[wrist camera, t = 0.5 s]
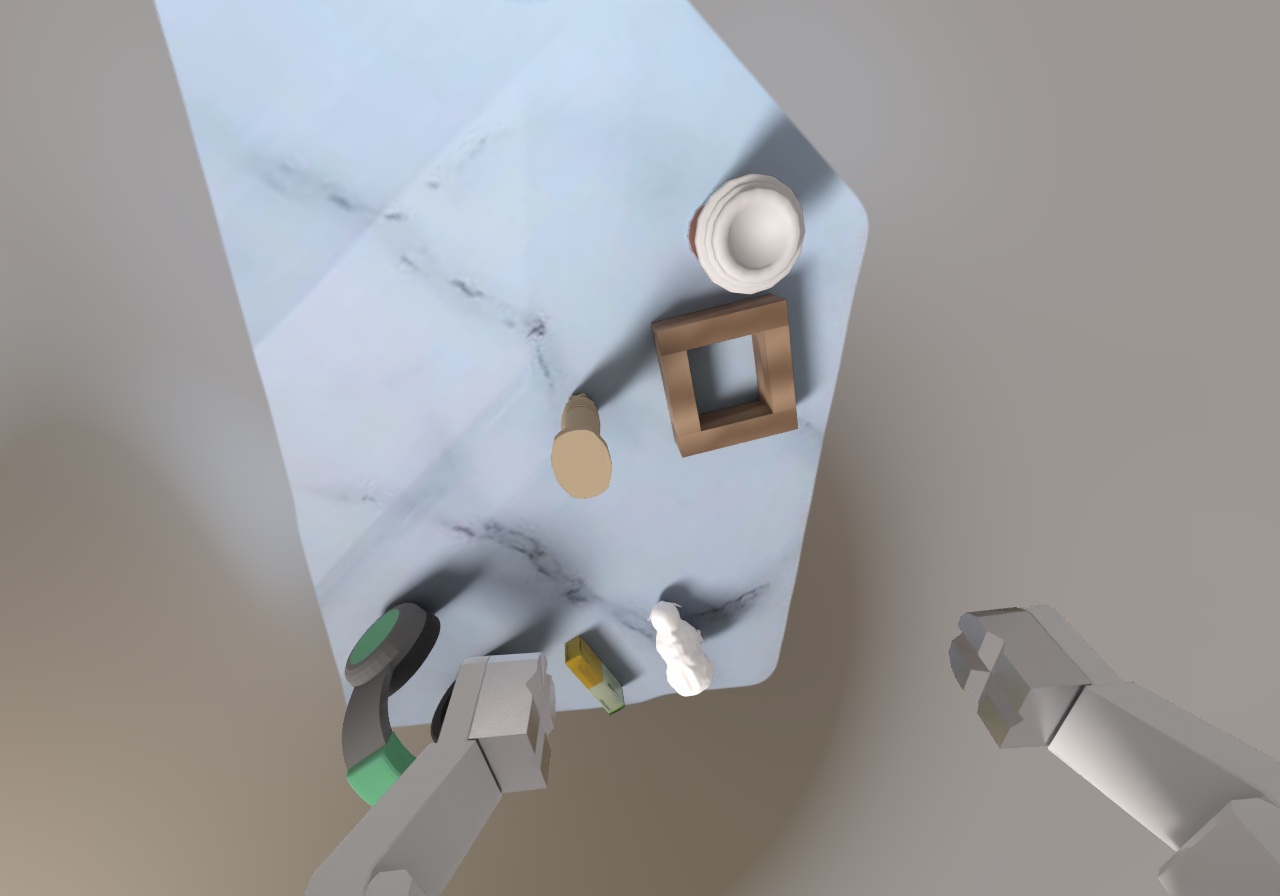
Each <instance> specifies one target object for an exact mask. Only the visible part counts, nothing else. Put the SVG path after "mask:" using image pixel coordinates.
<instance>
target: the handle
mask: <svg viewBox="0 0 1280 896" xmlns="http://www.w3.org/2000/svg"><path fill="white" fill-rule="evenodd" d="M561 429H562V431H560V432H559V433H558V434H557V435H556V436H555V438H554V443H553V448H552V455H551V463H552V468H553V471H554V474H555V477H556V479H557V482H558V483H559V484H560V486H561V487H562V488H563V489H564V490H565V491H566V492H567V493H568V494H569V495H570V496H571V497H574V498H579V499H585V498H591V497H594V496H597V495H599V494H601V493H603V492H604V491H605V490H606V489H607V488H608V486H609V483H610V479H611V474H612V463H611V458H610V454H609V450H608V447H607V444H606V443H605V441H604V440H603V439H602V437H601V436H600V420H599V415H598V411H597V408H596V405H595V403H594V401H591V400H590V399H589V398H588V397H587V396H586V394H585V393H581V394H579V395H576V396H573V395H572V396H570V397H569V399H568V403H567V404H566V406H565V408H564V410H563V414H562V421H561Z"/></svg>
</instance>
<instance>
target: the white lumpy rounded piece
mask: <svg viewBox="0 0 1280 896" xmlns="http://www.w3.org/2000/svg"><path fill="white" fill-rule="evenodd" d="M674 605H675V606H674ZM676 606H678V607H682V606H679V605H677V603H672V602H665V601H660V602H658V603H657V604H656V605H655V606H654V607H653V609H652V611H651V615H650V617H649V619H650V618H651V619H650V620H651V621H652V623H653V626H654V627H655V628H656V630H657V635H656V648H657V651H658V652H659V653H660V654H661V656H662V658H664V660H665V662H666V663H667V666H668V667H667V671H666V673H667V680H668V682H669V683H670V685H671V686H672V687H673V688H675V690H676V691H677V692H678V693H679V694H680V695H683V696H690V695H697V694H699V693H700V692H702V691H703V690H705V689H706V688H707V687H708V686H709V685H710V683H711V681H712V674H713V672H714V666H713V663H712V662H711V661H710V659H709V657H708V656H707V655H706V654H704V653H703V651H702V649H701V646H700V642H703V638H702V636H701V632H700V630H699V629H696V630H695V628H694V627H693V626H691V625H690V624H688V623H687V622H686V621H684V620H681V619H680V615H679V612H678V610H677V608H676ZM649 619H648V620H649Z"/></svg>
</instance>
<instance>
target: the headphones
mask: <svg viewBox="0 0 1280 896" xmlns="http://www.w3.org/2000/svg"><path fill="white" fill-rule="evenodd" d="M439 632H440V621H439V619H438V618H437V617H436V616H435V615H434V614H432V613H431V612H430V611H427V610H423V609H422V608H420V607H419V606H418V605H416V604H414V603H403V604H400V605H398V606H395V607H393V608H392V609H390V610H389V611H387V612H386V613H385V614H383V615H382V616H381V617H380V618H379V619H378V620H377V621H376V622H375V623H374V624H373V625H372V626H371V627H370V628H369V629H368V630H367V631H366V632H365V634H364V635H363V636H362V637H361V639H360V640H359V641H358V643H357V644H356V645H355V647H354V648H353V650H352V652H351V654H350V656H349V658H348V660H347V664H346V668H345V676H346V679H347V681H348V682H349V683H350V685H352V686H353V687H354V690H353V693H352V695H351V698H350V701H349V704H348V707H347V710H346V714H345V718H344V723H343V731H342V749H343V755H344V759H345V763H346V766H347V769H348V771H347V775H346V778H347V780H348V782H349V783H350V785H351V786H352V788H353V789H354V790H355V791H356V793H357V794H358V795H359V796H360V797H361V798H362V799H363V800H365V801H366V802H367V803H368V804H370V805H371V806H374V805H375V804H376V803H377V802H378V801H379V799H380V798H381V797H382V796H383V795H384V794H385V793H386V792H387V791H388V789H389V788H390V787H391V786H392V785H393V784H394V783H395V782H396V781H397V779H398V778H399V777H400V776H401V775H402V774H403V773H404V772H405V770H406V769H407V768H408V767H409V766H410V765H411V764H412V763H413V762H414V760H415V759H416V757H414V756H413V755H412V754H411V753H410V752H409V751H408V750H407V749H406V748H405V747H404V746H403V745H402V743H401V742H400V741H399V739H398V738H397V736H396V735H395V733H394V732H392V729H391V726H390V722H389V717H388V697H389V696H391V695H392V694H394V693H395V692H396V691H397V690H399V689H400V688H401V687H402V686H403V685H404V684H405V683H406V682H407V681H408V680H409V679H410V678H411V677H412V676H413V675H414V674H415V672H416V671H417V670H418V669H419V668H420V666H421V665H422V664H423V662H424V661H425V659H426V658H427V657H428V655H429V653H430V652H431V650H432V648H433V646H434V644H435V643H436V640H437V638H438V635H439ZM455 682H456V680H455V681H454V682H453V683H452V685H451V686H450V687H449V689H448V690H447V691H446V693H445V694H444V696H443V698H442V699H441V701H440V703H439V705H438V707H437V709H436V711H435V714H434V717H433V719H432V724H431V736H432V739H433V741H434V742H435V743H437V742H438V739H439V735H440V732H441V729H442V725H443V722H444V719H445V715H446V712H447V709H448V705H449V702H450V699H451V695H452V692H453V689H454V685H455Z"/></svg>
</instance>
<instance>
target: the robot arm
mask: <svg viewBox="0 0 1280 896" xmlns="http://www.w3.org/2000/svg"><path fill="white" fill-rule="evenodd" d="M958 627H959V628H960V630H961V631H962V633H961V634H960V635H958V636H957V637H956V638H955V639H953V640H952V643H951V646H950V650H949V656H950V663H951V668H952V670H953V672H954V675H955V678H956V679H957V681H958V682H959V684H960V686H961V687H962V689H963V691H965V692H966V693H968V694H969V695H971V696H972V697H974V698H975V699H977V700H978V711H977V713H978V715H979V717H980V718H981V720H982V721H983V723H984V724H985V726H986V728H987V729H988V731H989V732H990V734H991V736H992V737H993V739H994V740H995V742H996V743H997V745H998V746H999V748H1000V749H1003V748H1021V747H1037V746H1049V747H1048V749H1049V750H1050V751H1051V752H1053V753H1054V754H1055V755H1056V756H1058V757H1059V758H1060V759H1061V760H1063V761H1064V762H1065V763H1067V764H1068V765H1069V766H1070V767H1071V768H1073V769H1074V770H1075V771H1076V772H1078V773H1079V774H1080V775H1082V776H1083V777H1084V778H1085V779H1086V780H1088V781H1089V782H1090V783H1091V784H1093V785H1094V786H1095V787H1096V788H1098V789H1099V790H1100V791H1101V792H1103V793H1104V794H1105V795H1106V796H1108V797H1109V798H1110V799H1111V800H1113V801H1114V802H1115V803H1117V804H1118V805H1119V806H1120V807H1121V808H1123V809H1124V810H1125V811H1126V812H1128V813H1129V814H1130V815H1131V816H1133V817H1134V818H1135V819H1136V820H1138V821H1139V822H1140V823H1141V824H1143V825H1144V826H1145V827H1146V828H1148V829H1149V830H1150V831H1151V832H1153V833H1154V834H1155V835H1156V836H1158V837H1159V838H1160V839H1161V840H1163V841H1164V842H1165V843H1166V844H1168V845H1169V846H1170V847H1171V848H1173V849H1174V850H1175V851H1176V853H1175V854H1174V855H1173V856H1172V857H1171V858H1170V859H1169V860H1168V861H1167V862H1165V863H1164V864H1163V866H1161V867H1160V868H1159V874H1158V879H1159V880H1160V882H1161V883H1162V885H1163V886H1164V887H1165V889H1166V890H1167V892H1168V893H1169V894H1170V896H1280V762H1279V761H1278V760H1276V759H1274V758H1272V757H1270V756H1269V755H1267V754H1264V753H1263V752H1261V751H1259V750H1258V749H1256V748H1254V747H1252V746H1250V745H1248V744H1247V743H1245V742H1243V741H1241V740H1239V739H1237V738H1235V737H1234V736H1232V735H1230V734H1228V733H1226V732H1225V731H1223V730H1221V729H1219V728H1217V727H1215V726H1213V725H1212V724H1210V723H1208V722H1206V721H1204V720H1203V719H1201V718H1199V717H1197V716H1195V715H1193V714H1191V713H1190V712H1188V711H1186V710H1184V709H1182V708H1180V707H1179V706H1177V705H1175V704H1173V703H1171V702H1169V701H1168V700H1166V699H1164V698H1162V697H1160V696H1158V695H1156V694H1155V693H1153V692H1151V691H1149V690H1147V689H1146V688H1143V687H1142V686H1140V685H1138V684H1137V683H1135V682H1124V681H1123V680H1122V679H1121V678H1120V677H1119V676H1118V675H1117V674H1116V673H1115V671H1114V670H1113V669H1112V668H1111V667H1110V666H1109V665H1108V664H1107V663H1106V662H1105V661H1104V660H1103V659H1102V657H1101V656H1100V655H1099V654H1098V653H1097V652H1096V651H1095V650H1094V649H1093V648H1092V647H1091V646H1090V645H1089V644H1088V643H1087V642H1086V640H1085V639H1084V638H1083V637H1082V636H1081V635H1080V634H1079V633H1078V632H1077V631H1076V630H1075V629H1074V628H1073V627H1072V625H1071V624H1070V623H1069V622H1068V621H1067V620H1066V619H1065V618H1064V617H1063V616H1062V615H1061V614H1060V613H1059V612H1058V611H1057V610H1056V609H1054V608H1053V607H1051V606H1049V605H1039V606H1030V607H1022V608H1017V607H1014V608H1013V607H1012V608H1003V609H994V610H984V611H975V612H967V613H965V614H964V615H962V616H961V618H960V620H959V623H958ZM546 670H547V660H546V657H545V654H544V652H537V653H522V654H508V655H493V656H492V655H491V656H480V657H468V658H465V660H464V661H463V663H462V665H461V666H460V669H459V672H458V675H457V679H456V682H455V685H454V689H453V692H452V695H451V699H450V702H449V705H448V709H447V712H446V715H445V719H444V722H443V725H442V729H441V732H440V735H439V739H438V742H437V743H433V744H429V745H428V746H427V747H426V748H425V749H424V750H423V751H422V753H421V754H420V755H419V756H418V757H417V758H416V759H415V760H414V762H413V763H412V764H411V765H410V766H409V767H408V768H407V769H406V770H405V772H404V773H403V774H402V775H401V776H400V777H399V778H398V779H397V781H396V782H395V783H394V784H393V785H392V786H391V787H390V788H389V789H388V791H387V792H386V793H385V794H384V795H383V796H382V797H381V798H380V799H379V801H378V802H377V803H376V804H375V805H374V806H373V807H372V808H371V810H370V811H369V812H368V813H367V814H366V815H365V816H364V817H363V819H362V820H361V821H360V822H359V823H358V824H357V825H356V826H355V827H354V829H353V830H352V831H351V832H350V833H349V834H348V835H347V836H346V838H345V839H344V840H343V841H342V842H341V843H340V844H339V845H338V846H337V848H336V849H335V850H334V851H333V852H332V853H331V854H330V855H329V856H328V858H327V859H326V860H325V861H324V862H323V863H322V864H321V865H320V866H319V868H318V869H317V870H316V871H315V872H314V873H313V874H312V877H311V879H310V882H309V884H308V886H307V889H306V891H305V894H304V896H440V895H441V893H442V892H443V890H444V888H445V887H446V885H447V884H448V882H449V880H450V879H451V877H452V876H453V874H454V872H455V871H456V869H457V868H458V866H459V864H460V863H461V861H462V860H463V858H464V856H465V855H466V853H467V851H468V850H469V848H470V847H471V845H472V844H473V842H474V840H475V839H476V837H477V836H478V834H479V833H480V831H481V829H482V828H483V826H484V824H485V822H486V821H487V820H488V818H489V817H490V815H491V813H492V812H493V810H494V809H495V807H496V805H497V804H498V802H499V800H500V799H501V797H502V795H501V793H507V792H516V791H524V790H533V789H541V788H547V784H548V776H549V766H550V758H551V748H550V745H549V742H548V739H547V735H548V734H549V733H550V731H551V730H552V729H553V727H554V721H555V689H554V683H553V680H552V677H551V676H550V675H548V674H547V673H546Z"/></svg>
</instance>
